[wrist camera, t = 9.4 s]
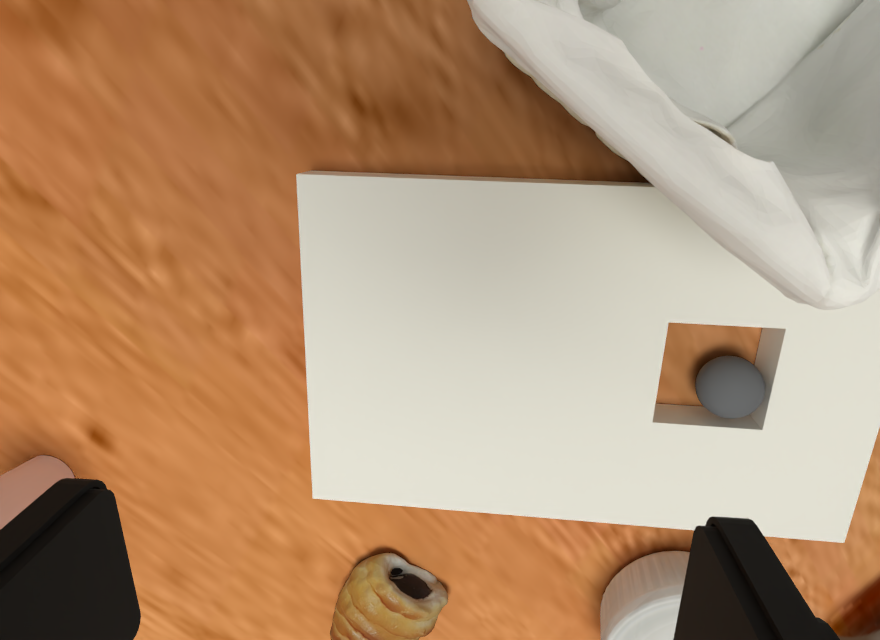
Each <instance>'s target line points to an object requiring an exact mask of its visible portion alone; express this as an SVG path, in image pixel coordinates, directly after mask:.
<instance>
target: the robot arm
mask: <svg viewBox="0 0 880 640" xmlns="http://www.w3.org/2000/svg"><path fill="white" fill-rule="evenodd" d="M140 618H141V615H140V609H139V604H138V599H137V595H136V590H135V586H134V581H133V577H132V572H131V568H130V563H129V559H128V554H127V550H126V545H125V540H124V536H123V531H122V527H121V522H120V518H119V513H118V509H117V504H116V500H115V496H114V494H113V492H112V491H111V490H107V488H106V485H105V484H104V483H103V482H102V481H99V480H91V479H75V478H65V479H61V480H59V481H57V482H56V483H55V484H53V485H52V486H51V487H50V488H49V489H47V490H46V491H45V492H44V493H43V494H42V495H40V496H39V497H38V498H37V499H36V500H35V501H33V502H32V503H31V504H30V505H29V506H28V507H26V508H25V509H24V510H23V511H22V512H20V513H19V514H18V515H17V516H16V517H15V518H13V519H12V520H11V521H10V522H9V523H8V524H6V525H5V526H4V527H3V528H2V529H0V640H133V639H134V637H135V636H136V634H137V631H138V629H139V625H140ZM673 640H840V639H839V638H838V636H837V635H836V633H835V632H834V631H833V629H832V628H831V627H830V626H829V625H828V623H826V622H825V621H823V620H822V619H820V618H816V617H815V616H814V614H813V613H812V611H811V610H810V608H809V606H808V605H807V603H806V602H805V600H804V599H803V597H802V596H801V594H800V592H799V591H798V589H797V588H796V586H795V585H794V583H793V581H792V580H791V578H790V577H789V575H788V574H787V572H786V570H785V569H784V567H783V566H782V564H781V563H780V561H779V559H778V558H777V556H776V555H775V553H774V552H773V550H772V548H771V547H770V545H769V544H768V542H767V541H766V539H765V537H764V536H763V534H762V533H761V531H760V530H759V528H758V526H757V525H756V524H755V523H754V521H753V520H751V519H748V518H731V517H714V516H712V517H709V519H708V520H707V522H706V525H705V526H696V528H695V530H694V533H693V539H692V544H691V549H690V554H689V560H688V565H687V570H686V575H685V581H684V586H683V591H682V597H681V602H680V607H679V612H678V618H677V623H676V628H675V633H674V639H673Z"/></svg>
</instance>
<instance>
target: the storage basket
mask: <svg viewBox="0 0 880 640" xmlns="http://www.w3.org/2000/svg"><path fill="white" fill-rule="evenodd" d="M467 1H468V4H469V6H470V9H471V11H472V18H473V20H474V21H475V23H476V25H477V26H478V28H479V29H480V31H481V32H482V33H483V34H484V35H485V36H486V37H487V38H488V39H489V40H490V41H491V42H492V43H493V44H494V45H496V46H497V47H498V48H500V49H501V50H502V51H503V52H504V53H505V56H506V57H507V58H508V59H509V60H510V61H511V63H512V64H513V65H514V66H516V67H517V68H518V69H520V70H521V71H522V72H524V73H525V74H527V75H529V76H530V77H531V78H532V79H533V80H534V82H535V83H536V84H537V86H538V87H539V88H541V89H542V90H543V91H544V92H546V93H547V94H548V95H549V96H550V97H552V98H553V99H555V100H556V101H558V102H559V103H560V104H561V105H562V106H563V107H564V108H565V109H566V110H567V111H568V112H569V114H570V115H572V116H573V117H574V118H575V119H577V120H578V121H579V122H580V123H581V124H584V125H586V126H588V127H590V128H592V129H593V130H594V131H595V133H596V136H597V137H598V138H599V139H600V140H601V141H602V142H603V143H604V144H605V145H606V146H607V147H608V148H609V149H610V150H612V151H613V152H614V153H615V154H617V155H618V156H620V157H622V158H623V159H625V160H627V161H628V162H630V163H631V164H632V165H633V166H634V167H635V168H636V170H637V171H638V172H639V173H640V174H641V175H642V176H643V177H644V178H645V179H647V180H648V181H649V182H650V183H651V184H653V185H654V186H655V187H656V188H657V189H658V190H659V191H660V192H662V193H663V194H664V195H665V196H666V197H667V198H668V199H669V200H670V201H672V202H673V203H674V204H675V205H676V206H678V207H679V208H680V209H681V210H682V211H683V212H684V213H686V214H687V215H688V216H689V217H690V218H691V219H692V220H693V221H694V222H695V223H696V224H697V225H698V226H699V227H700V228H701V229H703V230H704V231H705V232H706V233H707V234H708V235H709V236H710V237H712V238H713V239H714V240H715V241H716V242H717V243H718V244H720V245H721V246H722V247H723V248H724V249H726V250H727V251H728V252H730V253H731V254H733V255H734V256H735V257H737V258H738V259H739V260H741V261H742V262H743V263H745V264H746V265H747V266H748V267H750V268H751V269H752V270H753V271H755V272H756V273H757V274H758V275H760V276H761V277H762V278H763V279H765V280H766V281H767V282H769V283H770V284H771V285H772V286H774V287H775V288H776V289H778V290H779V291H780V292H781V293H782V294H783V295H784V296H785V297H787V298H789V299H792V300H793V301H795V302H797V303H800V304H808V305H810V306H813V307H815V308H817V309H821V310H833V309H840V308H844V307H847V306H851V305H854V304H858V303H861V302H863V301H865V300H866V299H868V298H869V297H870V296H871V295H873V294H874V293H875V292H876V291H877V290H879V289H880V0H467Z"/></svg>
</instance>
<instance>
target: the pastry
mask: <svg viewBox="0 0 880 640" xmlns="http://www.w3.org/2000/svg"><path fill="white" fill-rule="evenodd" d="M447 602H448V595H447V592H446V590H445V588H444V587H443V586H442V584H441V582H438V581H437V579H436V577H435V576H434V575H432V574H431V573H430V572H428V571H427V570H424V569H421V568H419V567H417V566H414V565H410V564H408V563H407V562H406V561H405V560H404V559H402V558H401V557H399V556H398V555H396V554H393V553H382V554H378V555H375V556H372V557H369V558H367V559H365V560H363V561H362V562H360V563H359V564H358V565H357V566H356V567H355V568H354V569H353V570H352V573H351V575H350V577H349V579H348V580H347V582H346V584H345V585H344V587H343V588H342V590H341V592H340V594H339V598H338V601H337V603H336V607H335V613H334V616H333V623H332V627H331V630H330V636H331V640H419V638H420V637H423V636H426V635H428V634H429V633H430V632H431V631H432V630H433V628H434V626H435V623H436V620H437V617H438V615H439V613H440V611H441V609H442V608H443V606H445V605H446V604H447Z"/></svg>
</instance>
